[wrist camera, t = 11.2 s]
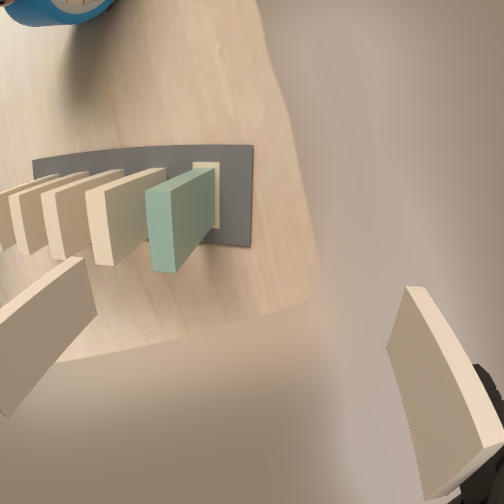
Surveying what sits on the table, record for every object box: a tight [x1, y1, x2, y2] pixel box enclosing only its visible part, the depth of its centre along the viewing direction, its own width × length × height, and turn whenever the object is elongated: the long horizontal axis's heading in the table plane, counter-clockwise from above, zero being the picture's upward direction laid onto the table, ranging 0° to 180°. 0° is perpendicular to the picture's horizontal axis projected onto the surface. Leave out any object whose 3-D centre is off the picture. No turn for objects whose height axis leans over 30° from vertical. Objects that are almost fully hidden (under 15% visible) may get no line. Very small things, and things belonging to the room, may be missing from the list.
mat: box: [32, 145, 253, 246], centre depth 27 cm, size 26×9×1 cm, turn 88°
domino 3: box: [41, 169, 125, 260], centre depth 22 cm, size 2×5×10 cm, turn 179°
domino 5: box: [145, 168, 215, 273], centre depth 21 cm, size 2×5×10 cm, turn 179°
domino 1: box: [0, 174, 60, 251], centre depth 23 cm, size 2×5×10 cm, turn 178°
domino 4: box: [85, 168, 167, 266], centre depth 22 cm, size 2×5×10 cm, turn 178°
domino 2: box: [8, 171, 89, 255], centre depth 23 cm, size 2×5×10 cm, turn 178°
